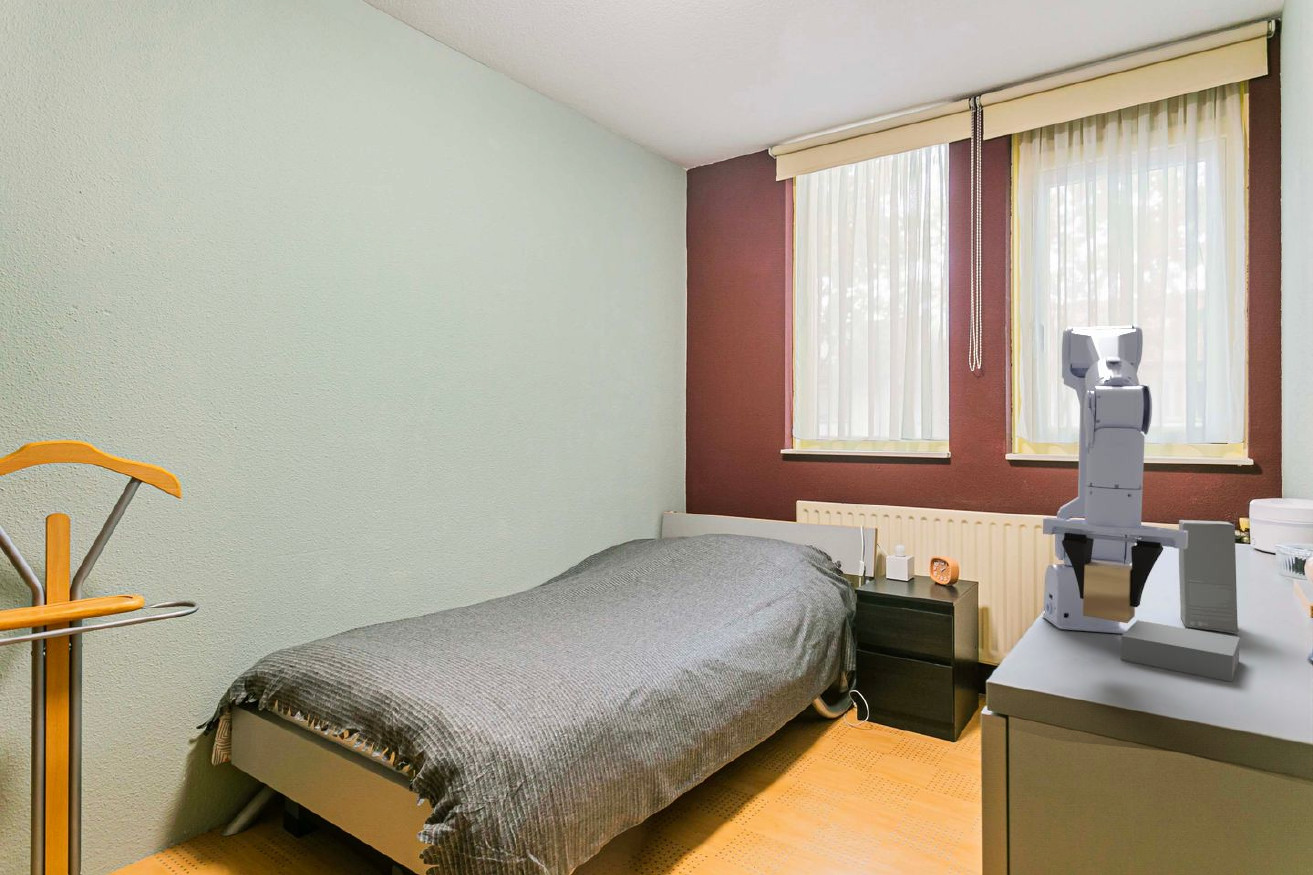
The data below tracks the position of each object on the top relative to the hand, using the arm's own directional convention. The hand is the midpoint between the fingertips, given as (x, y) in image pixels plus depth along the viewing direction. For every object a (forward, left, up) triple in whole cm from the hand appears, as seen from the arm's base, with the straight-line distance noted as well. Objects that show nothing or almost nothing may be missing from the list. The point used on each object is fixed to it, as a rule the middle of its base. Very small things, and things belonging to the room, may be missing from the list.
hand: (1109, 601), depth 87 cm
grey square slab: (+11, +7, -8) cm, 16 cm away
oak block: (0, 0, -2) cm, 2 cm away
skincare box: (+24, +28, -9) cm, 38 cm away
